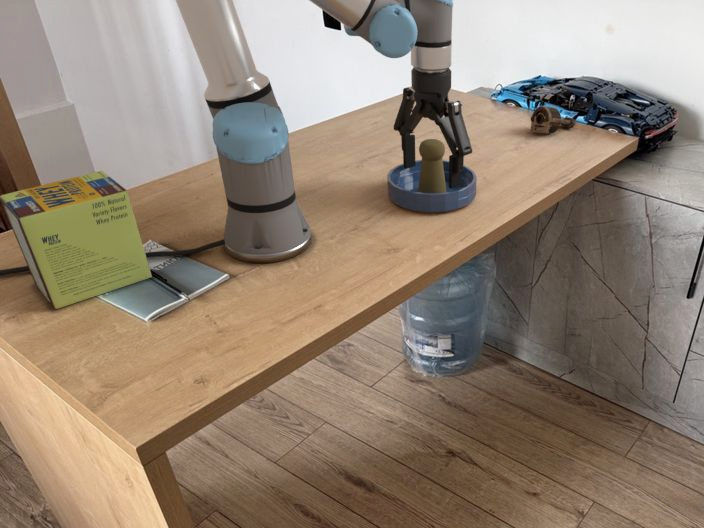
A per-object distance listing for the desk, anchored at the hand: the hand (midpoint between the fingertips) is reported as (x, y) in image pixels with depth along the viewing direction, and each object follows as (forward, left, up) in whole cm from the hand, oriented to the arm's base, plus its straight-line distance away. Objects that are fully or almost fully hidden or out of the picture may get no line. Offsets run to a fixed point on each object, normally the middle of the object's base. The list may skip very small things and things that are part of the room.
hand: (431, 176), depth 138 cm
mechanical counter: (+51, +8, -5) cm, 52 cm away
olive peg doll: (0, 0, -4) cm, 4 cm away
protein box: (-64, +13, -5) cm, 65 cm away
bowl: (0, 0, -4) cm, 4 cm away
